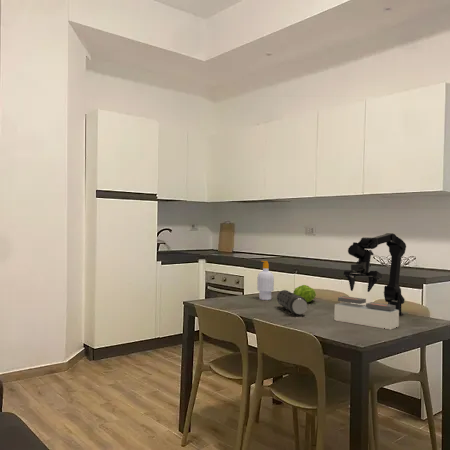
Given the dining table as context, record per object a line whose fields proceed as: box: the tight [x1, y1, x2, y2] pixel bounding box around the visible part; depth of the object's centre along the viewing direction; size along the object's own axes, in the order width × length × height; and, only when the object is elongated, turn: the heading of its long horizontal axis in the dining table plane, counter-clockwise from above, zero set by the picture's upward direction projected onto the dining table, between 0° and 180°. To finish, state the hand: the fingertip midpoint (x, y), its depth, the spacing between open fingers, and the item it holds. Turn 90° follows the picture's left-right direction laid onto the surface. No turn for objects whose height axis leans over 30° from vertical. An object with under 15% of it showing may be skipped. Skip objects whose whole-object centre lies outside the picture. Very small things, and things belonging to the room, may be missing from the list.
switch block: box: [333, 302, 400, 331], centre depth 232 cm, size 9×29×8 cm, turn 47°
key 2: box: [365, 301, 396, 311], centre depth 227 cm, size 6×12×2 cm, turn 47°
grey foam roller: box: [276, 289, 308, 316], centre depth 260 cm, size 10×28×10 cm, turn 10°
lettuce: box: [292, 284, 317, 303], centre depth 297 cm, size 12×24×13 cm
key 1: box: [337, 295, 367, 305], centre depth 237 cm, size 6×12×2 cm, turn 47°
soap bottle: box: [256, 260, 275, 301], centre depth 301 cm, size 10×10×24 cm
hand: (359, 291), depth 237 cm, fingers open, 9 cm apart
